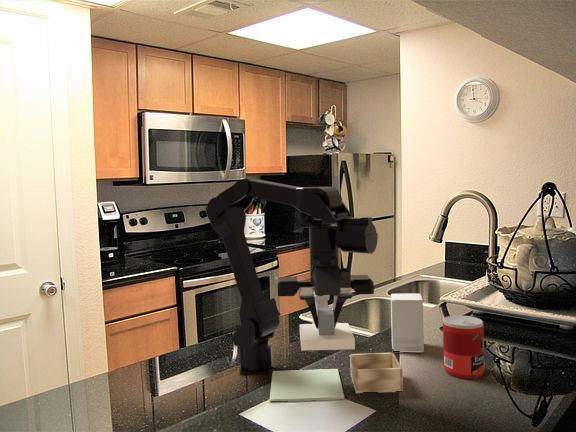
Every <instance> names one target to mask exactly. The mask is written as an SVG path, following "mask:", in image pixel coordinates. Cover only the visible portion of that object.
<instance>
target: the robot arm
mask: <svg viewBox="0 0 576 432" xmlns="http://www.w3.org/2000/svg"><path fill="white" fill-rule="evenodd" d="M342 197H343V196H342V194H341V192H340V191H339V189H338V188H336V187H334V186H305V187H300V186H296V185H295V186H294V185H289V184H285V183H280V182H273V181H268V180H264V179H263V180H262V179H259V178H257V177H241V178H240V179H239V180H237V181H236V182H234V184H233V185H231V186H230V187H228V188H226V189H225V190H223V191H222V192H220V193H218V194H217V195H216V196H215V197H212V198H210V200H209V201H208V202H207V205H206V207H205V212H206V213H205V214H206V217H207V218H208V221H209V223H210V224H211V227H212V228H213V230H214V231H215V232H216V233H217V234H218V235H219V236H220V237H221V238H222V240H223V244H224V246H225V249H226V254H227V256H228V260H229V264H230V268H231V270H232V273H233V276H234V277H233V278H234V280H235V284H236V286H237V290H238V294H239V296H240V300H241V302H240V307H239V312H238V313H239V314H238V315H239V322H240V326H239V327H238V328H237V329H236V330H235V332H234V333H233V334H232V335H231V340H232V343H233V345H234V346H235V347H239V361H240V363H239V365H240V368H239V374H240V375H255V374H256V375H257V374H269V373H270V370H271V368H272V367H273V350H272V348H273V347H272V345H271V344H269V343H270V340H269V339H273V338H274V335H275V332H276V330H277V329H278V328H279V325H280V321H281V320H280V316H281V313H280V311H279V309H278V306H277V301H276V299H275V298H274V297H271V298H268V297H267V296H266V295H265V293H264V292H263V289H262V286H261V282H260V279H259V277H258V276H259V275H258V273H257V270H256V267H255V264H254V261H253V258H252V256H253V255H252V254H251V251H250V247H249V244H248V241H247V238H246V235H245V228H246V227H245V226H246V220H247V217H246V216H247V215H246V210H247V209H248V208H249V207H250V206H251V205H252V204H253V202H254V199H259V200H264V201H267V202H268V201H269V202H273V203H277V204H283V205H288V206H291V207H292V208H293V207H294V208H295V209H297V211H299V212H301V213H304V214H306V217H305V218H304V219H303V220H302V221H301V222H300V223H299V225H298V226H299V228H306V229H307V228H308V231H309V232H308V233H309V235H308V236H309V273H310V274H309V278H310V279H309V280H298V276H280V277H279V278H278V279H277V296H278V297H294V296H296V295H297V294H298V297H299V300H301V301H305V303H306V304H307V306H308V308H309V311H310V313H311V317H312V321H313V320H314V323H315V326H316V328H318V317H317V311H316V304H315V297H314V292H315V295H317V296H323V295H330V296H333V305H332V310H333V313H334V328H335V327H336V324H337V322H338V319H339V317H340V314H341V311H342V309H343V307H344V304H345V303H346V301H347V300H350V299H352V298H353V295H352V293H351V292H352V291H354V292H355V293H356V294H358V295H374V294H375V283H374V281H373V280H372V278H371V277H370V276H369V275H368V274H357V275H356V274H351V269H350V267H340V264H339V263H340V259H339V258H340V256H339V249H340V250H341V252H343V253H354V254H355V253H356V254H369V255H372V254H373V253H374V252H375V251H376V250H377V249H376V248H377V245H378V238H379V235H378V233H377V228H376V226H375V225H374V223H373V217H372V216H365V217H364V216H363V217H354V216H353V214H352V213H351V211H350V210H349V209H348V207H347V206H346V204H345V203H344V201H343V198H342Z"/></svg>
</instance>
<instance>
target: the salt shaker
mask: <svg viewBox="0 0 576 432" xmlns="http://www.w3.org/2000/svg"><path fill="white" fill-rule="evenodd" d="M313 293H314V297H315V304H316V311H317V308H330V307H329V303H328V301H329V300H330V296H331V295H323V296H317V295H315V292H314V291H313ZM311 322H312V323H311V324H315V323H314V320H313V319H312V321H311Z"/></svg>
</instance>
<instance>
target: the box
mask: <svg viewBox="0 0 576 432" xmlns="http://www.w3.org/2000/svg"><path fill="white" fill-rule="evenodd" d="M394 353H395V352H373V353H372V352H370V353H367V352H366V353H349V362H350V363H349V365H350V366H349V367H350V377H352V378H351V380H352V384H354V385H353V388H354V390H355V391H354V392H355V394H364V393H363V392H378V393H397V392H396V391H403V392H404V382H403V381H404V380H403V377H404V376H403V375H404V374H403V367H402V366H401V363H400V362H399V360H398V359H397V357H396V355H395V354H394Z"/></svg>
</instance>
